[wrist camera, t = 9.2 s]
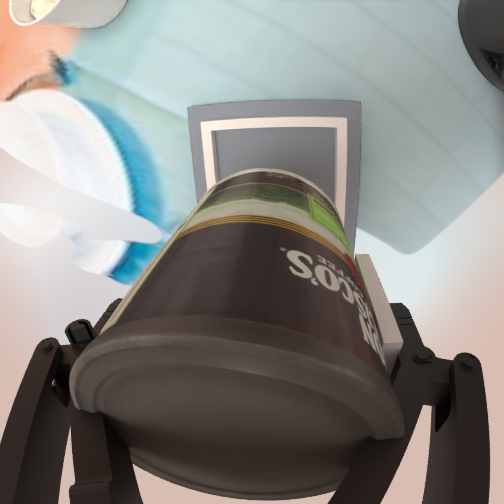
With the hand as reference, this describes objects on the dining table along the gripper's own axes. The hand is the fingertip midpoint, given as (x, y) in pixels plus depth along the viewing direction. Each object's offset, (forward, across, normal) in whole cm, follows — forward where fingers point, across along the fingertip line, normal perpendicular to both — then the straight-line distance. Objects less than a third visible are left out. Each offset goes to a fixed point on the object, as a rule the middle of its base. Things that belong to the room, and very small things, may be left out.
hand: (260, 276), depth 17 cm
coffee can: (+4, 0, 0) cm, 4 cm away
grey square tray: (+20, 0, 0) cm, 20 cm away
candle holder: (+20, +20, -26) cm, 38 cm away
